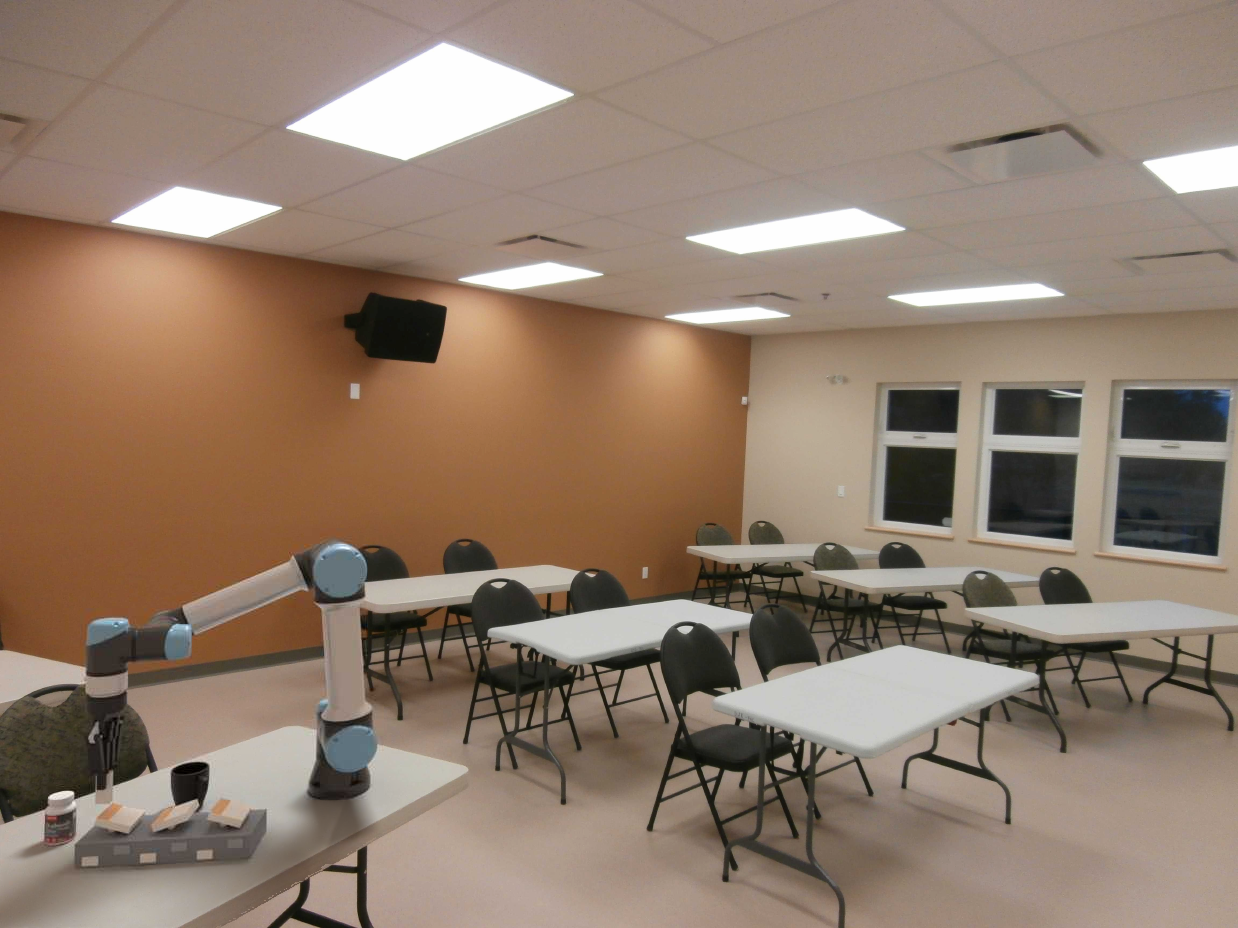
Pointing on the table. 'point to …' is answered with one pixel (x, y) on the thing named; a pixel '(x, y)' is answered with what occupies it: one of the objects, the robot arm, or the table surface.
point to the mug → (190, 782)
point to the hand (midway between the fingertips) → (103, 802)
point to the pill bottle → (60, 818)
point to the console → (171, 842)
